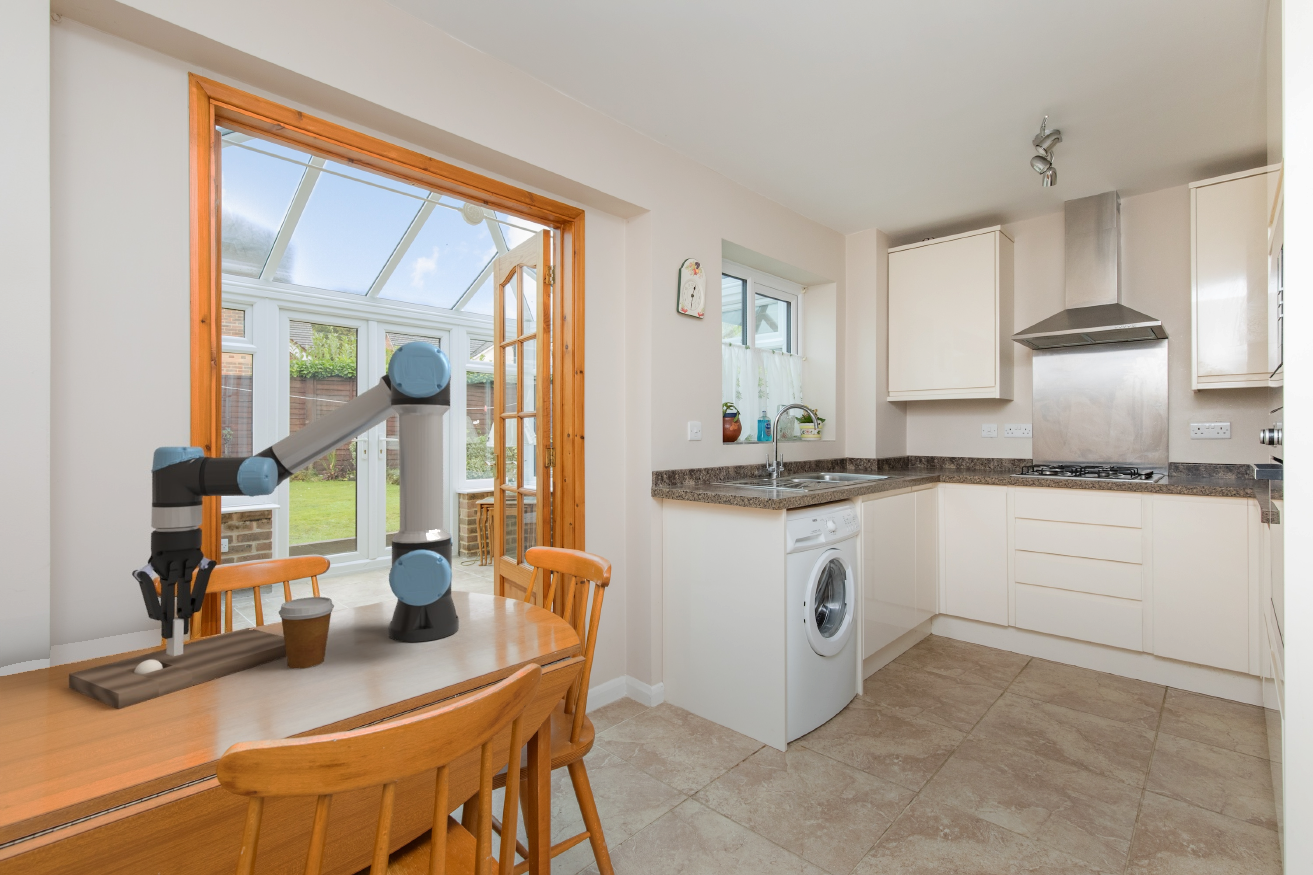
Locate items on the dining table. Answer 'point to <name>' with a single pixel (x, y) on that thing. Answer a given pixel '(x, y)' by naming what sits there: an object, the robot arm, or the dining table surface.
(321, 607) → the disposable coffee cup
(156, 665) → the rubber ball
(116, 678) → the hole board
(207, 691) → the dining table surface
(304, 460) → the robot arm
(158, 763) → the dining table surface
